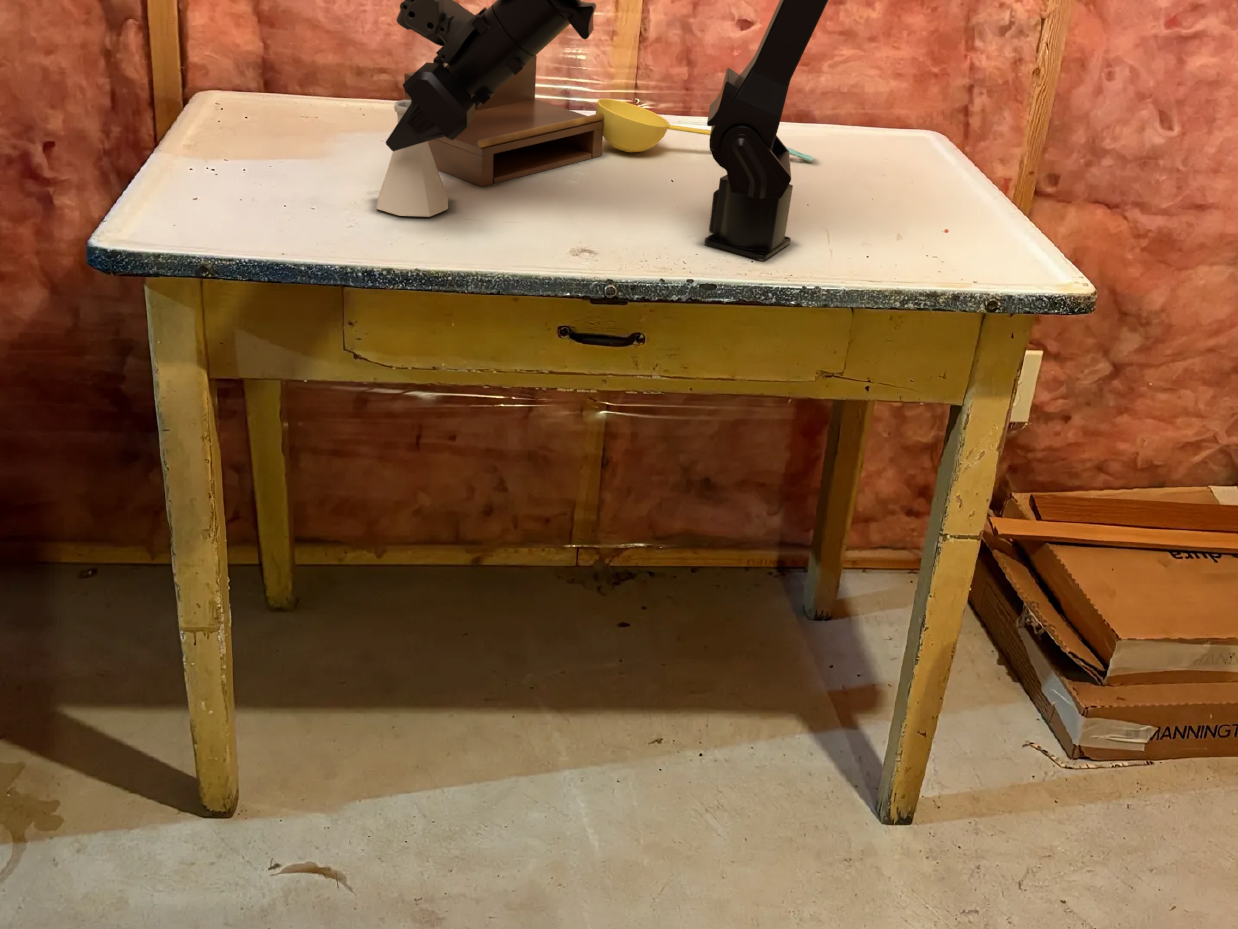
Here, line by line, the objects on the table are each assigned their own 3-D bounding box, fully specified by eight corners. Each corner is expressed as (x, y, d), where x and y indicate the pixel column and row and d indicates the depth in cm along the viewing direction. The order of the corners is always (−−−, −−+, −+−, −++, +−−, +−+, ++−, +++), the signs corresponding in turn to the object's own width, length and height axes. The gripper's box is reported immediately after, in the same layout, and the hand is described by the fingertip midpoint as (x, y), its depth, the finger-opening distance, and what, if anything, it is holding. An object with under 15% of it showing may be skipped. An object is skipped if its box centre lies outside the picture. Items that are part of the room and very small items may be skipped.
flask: (435, 223, 109) (434, 118, 104) (363, 212, 110) (359, 108, 105) (459, 200, 115) (460, 99, 110) (391, 190, 116) (388, 90, 111)
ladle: (585, 129, 137) (598, 82, 135) (788, 190, 142) (806, 146, 140) (587, 148, 130) (602, 98, 127) (802, 212, 135) (821, 165, 132)
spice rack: (601, 155, 132) (607, 75, 127) (481, 186, 119) (483, 99, 115) (526, 130, 138) (529, 52, 134) (405, 157, 126) (403, 73, 121)
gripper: (475, -59, 108) (365, 50, 115) (426, -30, 92) (301, 95, 99) (553, 36, 112) (443, 136, 118) (519, 80, 96) (393, 194, 102)
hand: (397, 138), depth 109 cm, fingers open, 5 cm apart
